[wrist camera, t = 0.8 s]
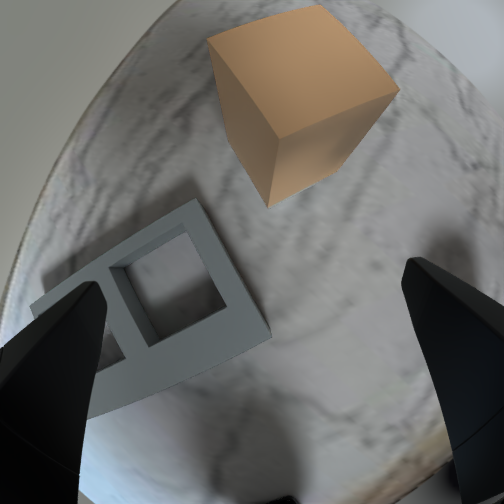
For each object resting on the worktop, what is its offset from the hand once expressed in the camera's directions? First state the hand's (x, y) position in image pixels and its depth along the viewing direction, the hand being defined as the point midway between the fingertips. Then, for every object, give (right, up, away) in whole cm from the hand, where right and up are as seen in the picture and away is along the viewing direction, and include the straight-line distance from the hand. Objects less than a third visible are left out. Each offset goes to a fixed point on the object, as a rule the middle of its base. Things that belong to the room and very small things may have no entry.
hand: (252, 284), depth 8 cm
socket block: (-8, -4, +13) cm, 16 cm away
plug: (+2, +7, +13) cm, 15 cm away
